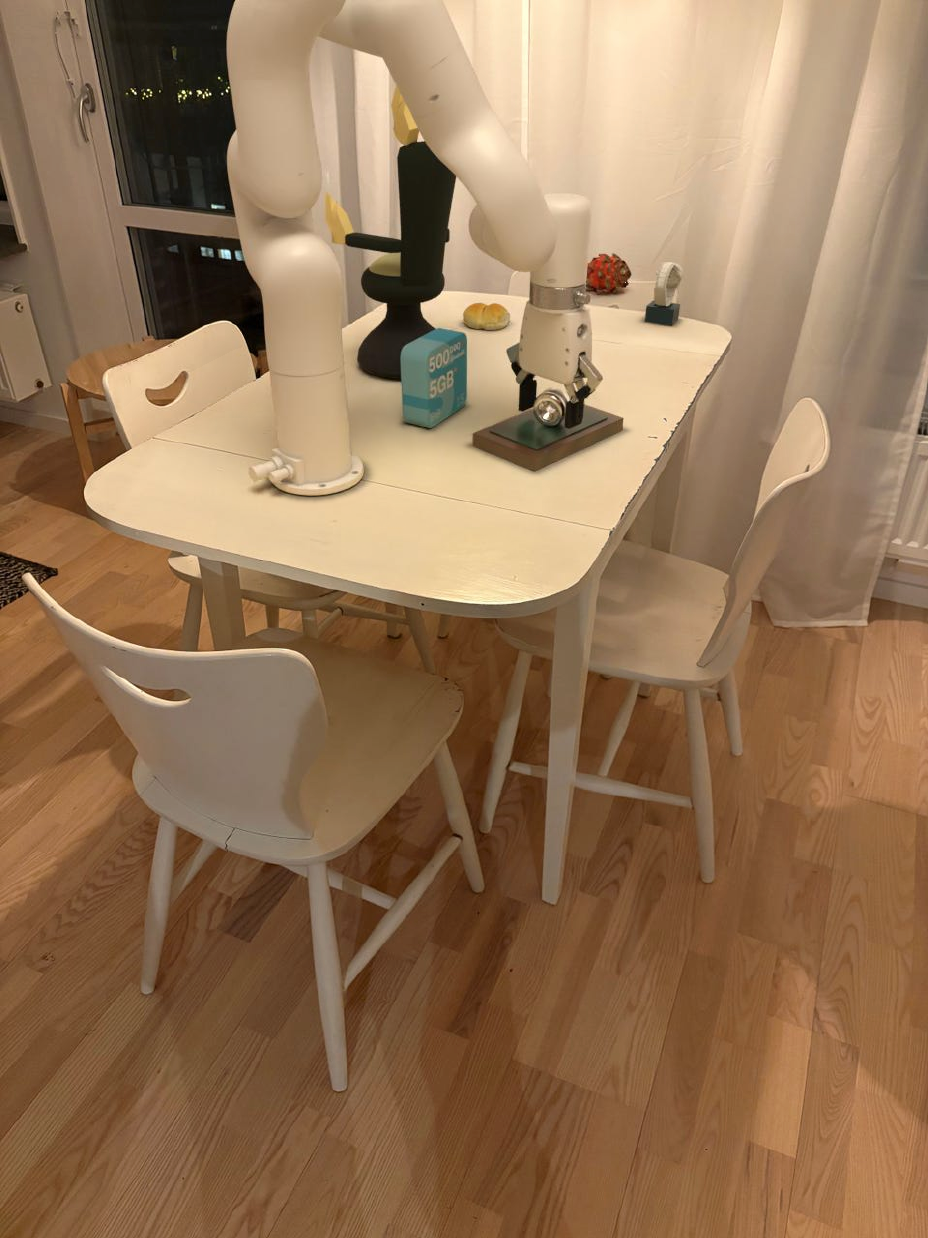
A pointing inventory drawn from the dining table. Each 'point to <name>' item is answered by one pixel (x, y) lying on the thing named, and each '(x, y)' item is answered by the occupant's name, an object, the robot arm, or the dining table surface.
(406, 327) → the candelabra
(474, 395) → the dining table surface
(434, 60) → the robot arm
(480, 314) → the bread roll
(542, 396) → the metal grooved wheel
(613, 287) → the dragon fruit
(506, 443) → the desk pad
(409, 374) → the data package
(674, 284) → the watch
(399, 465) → the dining table surface
